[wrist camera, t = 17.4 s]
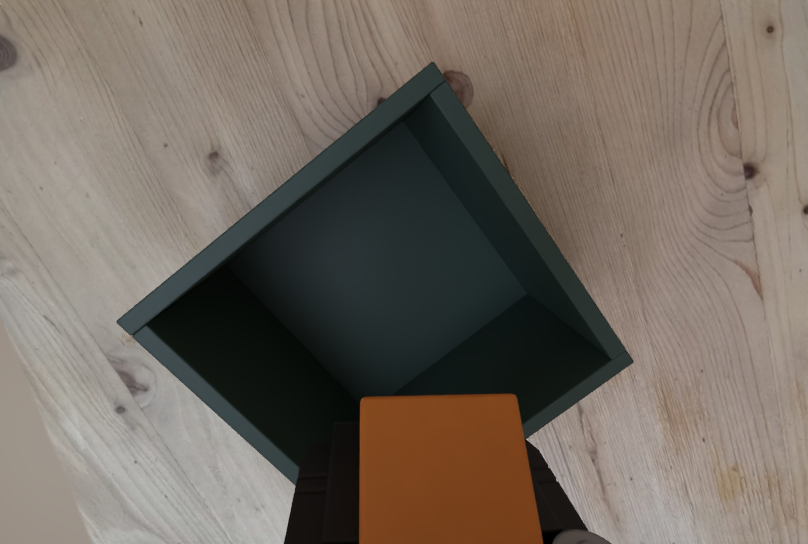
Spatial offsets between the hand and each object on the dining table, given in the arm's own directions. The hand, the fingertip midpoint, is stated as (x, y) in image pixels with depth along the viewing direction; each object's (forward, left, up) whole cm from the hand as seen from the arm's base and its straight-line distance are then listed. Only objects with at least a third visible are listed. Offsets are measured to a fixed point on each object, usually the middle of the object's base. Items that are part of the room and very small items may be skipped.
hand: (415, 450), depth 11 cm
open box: (0, 0, -18) cm, 18 cm away
